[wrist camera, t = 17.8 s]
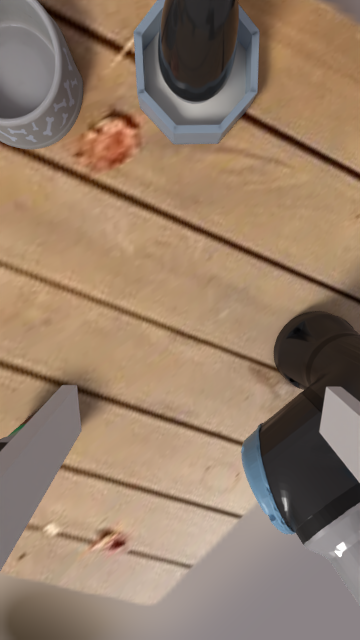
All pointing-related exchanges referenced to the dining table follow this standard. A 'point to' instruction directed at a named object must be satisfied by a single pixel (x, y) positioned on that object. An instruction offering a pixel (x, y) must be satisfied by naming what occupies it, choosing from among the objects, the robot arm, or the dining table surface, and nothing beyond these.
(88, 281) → the dining table surface
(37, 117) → the dog bowl
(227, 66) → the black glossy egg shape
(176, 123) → the bowl
